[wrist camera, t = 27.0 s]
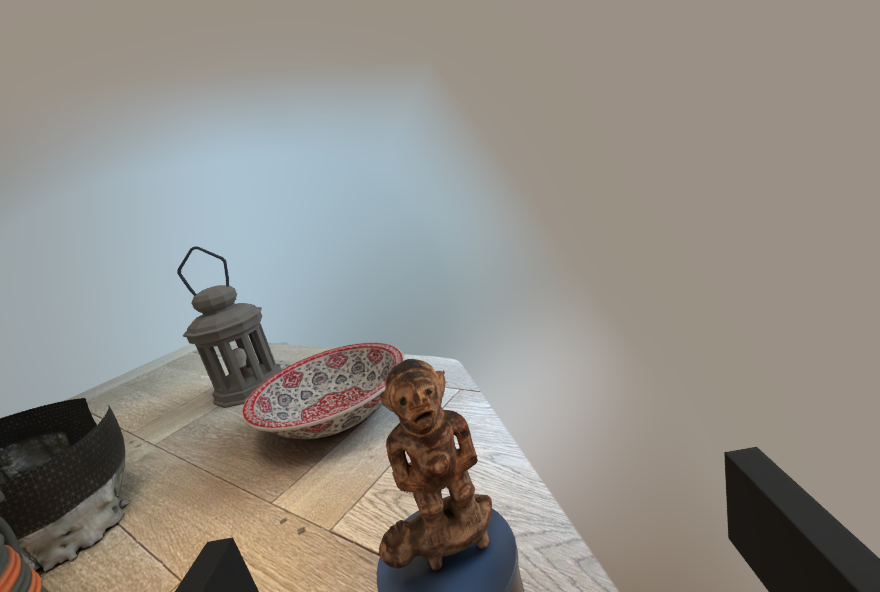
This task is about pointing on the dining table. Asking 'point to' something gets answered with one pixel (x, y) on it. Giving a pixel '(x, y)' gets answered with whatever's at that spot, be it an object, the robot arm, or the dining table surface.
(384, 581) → the pedestal
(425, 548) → the figurine
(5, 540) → the tankard
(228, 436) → the dining table surface
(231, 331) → the lantern
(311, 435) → the ceramic bowl
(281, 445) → the dining table surface
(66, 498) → the basket
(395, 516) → the dining table surface
